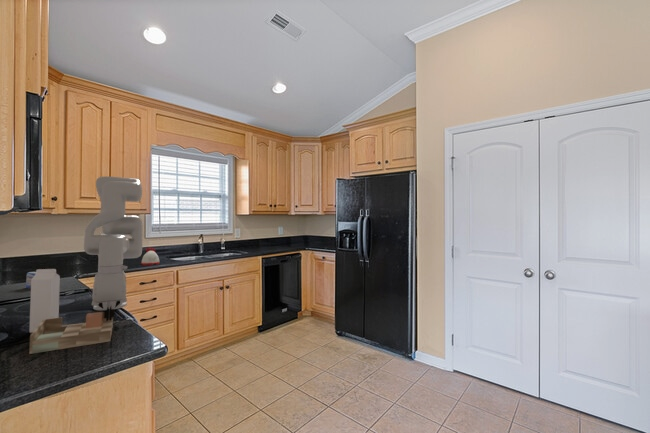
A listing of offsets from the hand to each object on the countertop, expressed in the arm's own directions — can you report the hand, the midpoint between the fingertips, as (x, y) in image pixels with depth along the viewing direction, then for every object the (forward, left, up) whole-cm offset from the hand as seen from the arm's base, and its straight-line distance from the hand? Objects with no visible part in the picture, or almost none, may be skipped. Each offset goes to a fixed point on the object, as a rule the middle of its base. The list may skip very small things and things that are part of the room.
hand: (109, 319), depth 113 cm
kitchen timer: (-174, +22, -4) cm, 176 cm away
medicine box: (-98, -39, -4) cm, 106 cm away
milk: (-12, -20, -4) cm, 24 cm away
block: (0, -4, -1) cm, 5 cm away
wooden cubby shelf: (+4, -9, -4) cm, 10 cm away
